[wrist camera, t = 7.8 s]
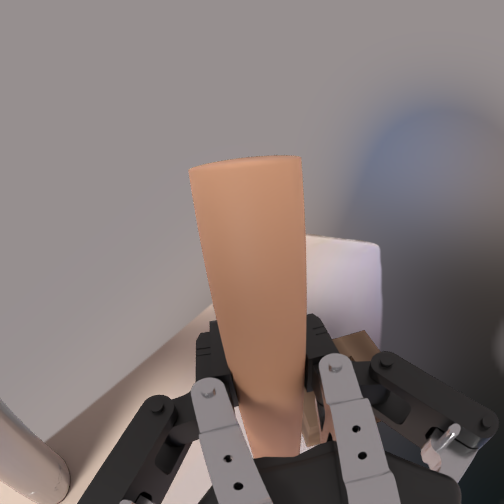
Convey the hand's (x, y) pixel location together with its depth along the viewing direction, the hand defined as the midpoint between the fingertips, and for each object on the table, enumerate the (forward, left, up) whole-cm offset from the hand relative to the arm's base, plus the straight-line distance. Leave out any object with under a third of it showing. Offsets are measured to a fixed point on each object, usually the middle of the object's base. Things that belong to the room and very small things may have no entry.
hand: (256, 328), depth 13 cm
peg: (0, -3, -10) cm, 10 cm away
